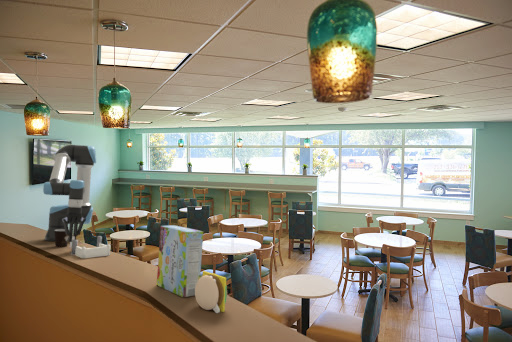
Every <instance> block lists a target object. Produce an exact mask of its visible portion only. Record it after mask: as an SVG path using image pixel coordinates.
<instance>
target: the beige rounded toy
mask: <svg viewBox="0 0 512 342" xmlns="http://www.w3.org/2000/svg"><path fill="white" fill-rule="evenodd" d="M227 289H228V286H227V277H225V276H223V275H219V274H217V273H216V272H215V273H213V272H208V271H205V270H203V271H202V275H201V276H200V279H199V280H198V281H197V283H196V286H195V295H194V296H195V301H196V302H197V304H198V305H199V306H200V307H201V308H202V309H203V310H206V311H210V310H213V311H214V313H216V314H219V313H220V312H221V313H225V308H226V303H227V301H228V290H227Z"/></svg>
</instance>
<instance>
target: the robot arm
mask: <svg viewBox="0 0 512 342" xmlns="http://www.w3.org/2000/svg"><path fill="white" fill-rule="evenodd" d="M53 158H54V159H53V160H54V164H53V167H52V171H51V174H50V178H49V181H46V182H44V183H43V188H42V189H43V190H42V191H43V194H44V195H46V196H47V195H48V196H68V202H67V203H68V204H61V205H60V204H59V205H52V206H50V208H49V212H48V214H49V215H48V229H47V231H46V233H45V236H44V241H46V242H55V232H54V230H57V229H65V233H66V235H68V236H69V238H68V243H69V248H71V249H72V240H77V237H78V236H79V235H81V233H82V229H83V226H84V225H88V224H90V223H91V221H92V217H93V212H94V207H93V206H92V204H91V202H90V193H91V192H90V191H91V178H92V177H91V175H92V168H93V167H94V166H95V164H96V163H97V153H96V148H95V147H94V146H92V145H80V144H66V145H64V146H62V147H60V148H59V149H58V150H57V151H56V152H55V154H54V157H53ZM73 162H74V163H75V167H77V168H76V169H77V170H76V171H77V172H76V179H71V180H70V182H64V181H65V176H66V173H67V169H68V165H69V164H70V163H73Z"/></svg>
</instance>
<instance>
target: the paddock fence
mask: <svg viewBox="0 0 512 342" xmlns="http://www.w3.org/2000/svg"><path fill="white" fill-rule="evenodd" d="M96 238H97V239H96V247H88V248H86V246H79V245H78V246H76V251H75V253H72V252H70V253H69V255H70V256H76V257H78V258H81V259H89V258H91V259H92V258H97V257H98V258H99V257H106V256H110V255H111V244H110V243H109V244H104V243H102V240H103V236H101V235H98V236H97V237H96Z"/></svg>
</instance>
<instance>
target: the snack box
mask: <svg viewBox="0 0 512 342" xmlns="http://www.w3.org/2000/svg"><path fill="white" fill-rule="evenodd" d="M159 229H160V230H159V231H160V232H159V245H158V246H159V247H158V261H157V274H156V275H157V276H156V286H157V285H158V286H157V287H159V288H162V289H164V290H166V291H169V292H170V293H173V294H175V295H177V296H180V297H181V298H187V297H192V296H193V297H194V296H195V286H196V283H197V281H198V280H199V279H200V278H201V271H202V270H201V269H202V258H203V257H202V255H203V244H204V243H203V241H204V230H203V231H202V230H198V229H194V228H189V227H184V226H180V225H174V224H173V225H170V224H169V225H160V228H159Z"/></svg>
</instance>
